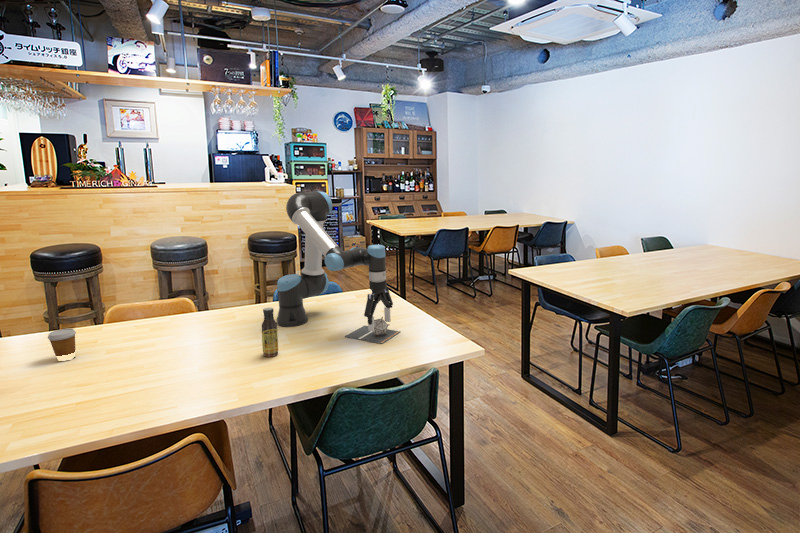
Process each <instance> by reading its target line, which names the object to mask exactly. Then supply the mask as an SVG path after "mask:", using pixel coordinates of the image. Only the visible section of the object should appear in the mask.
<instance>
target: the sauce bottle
mask: <svg viewBox="0 0 800 533" xmlns="http://www.w3.org/2000/svg"><path fill="white" fill-rule="evenodd" d="M262 312H263V321H262V323H261V343H262V345H261V346H262V354H263V357H265V356H266V357H265V358H272V356H273V357H275V355H276V356H277V355H278V354H279V335H278V326H277V325H278V324H277V320H275V319H274V318H275V317H274V308H273V307H264V308H263V310H262Z"/></svg>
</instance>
